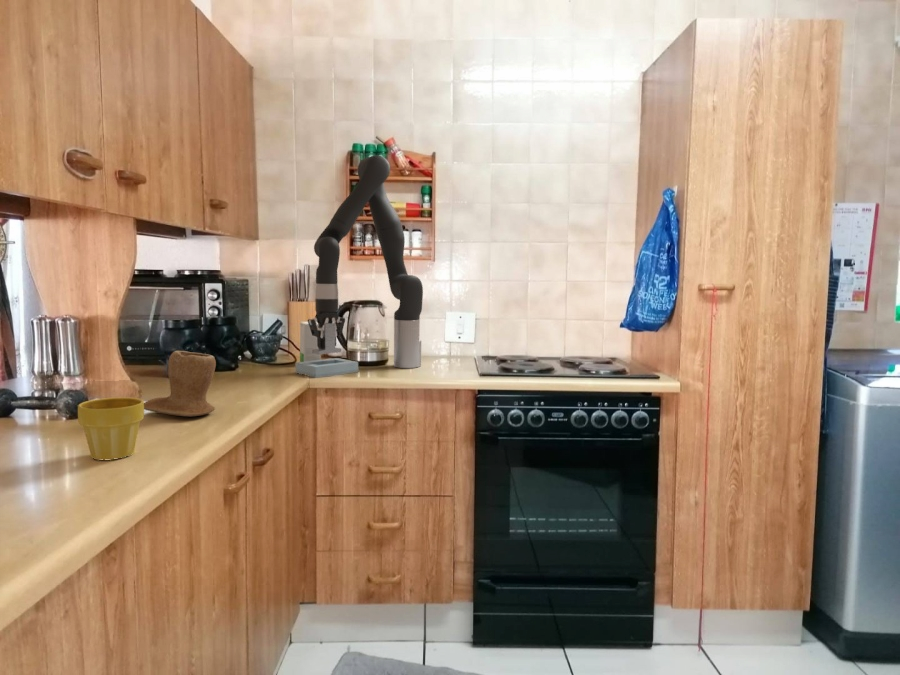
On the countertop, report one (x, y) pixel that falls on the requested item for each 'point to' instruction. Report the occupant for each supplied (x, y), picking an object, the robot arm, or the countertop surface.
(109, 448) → the plant pot
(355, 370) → the well block
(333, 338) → the bracket
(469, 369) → the countertop surface
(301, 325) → the skincare box
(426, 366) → the countertop surface
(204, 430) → the countertop surface
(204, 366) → the brown hat-shaped piece
